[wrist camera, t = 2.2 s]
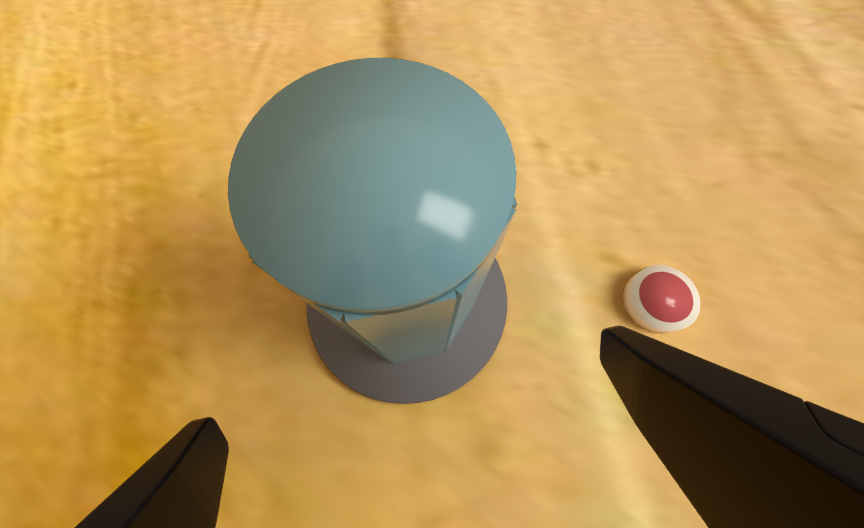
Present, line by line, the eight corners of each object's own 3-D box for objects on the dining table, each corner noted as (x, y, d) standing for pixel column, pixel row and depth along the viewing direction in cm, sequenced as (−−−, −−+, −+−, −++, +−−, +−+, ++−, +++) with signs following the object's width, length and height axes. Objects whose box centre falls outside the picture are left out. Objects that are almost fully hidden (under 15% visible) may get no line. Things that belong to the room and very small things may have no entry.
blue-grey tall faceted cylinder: (424, 387, 19) (412, 372, 8) (320, 315, 21) (165, 205, 9) (491, 279, 21) (565, 131, 9) (391, 220, 22) (345, 21, 11)
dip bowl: (656, 347, 21) (670, 344, 19) (607, 296, 22) (618, 290, 20) (699, 307, 21) (715, 302, 20) (650, 260, 22) (662, 252, 21)
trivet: (382, 451, 19) (381, 452, 18) (272, 281, 22) (269, 278, 21) (546, 317, 21) (548, 316, 21) (426, 179, 24) (426, 175, 23)
